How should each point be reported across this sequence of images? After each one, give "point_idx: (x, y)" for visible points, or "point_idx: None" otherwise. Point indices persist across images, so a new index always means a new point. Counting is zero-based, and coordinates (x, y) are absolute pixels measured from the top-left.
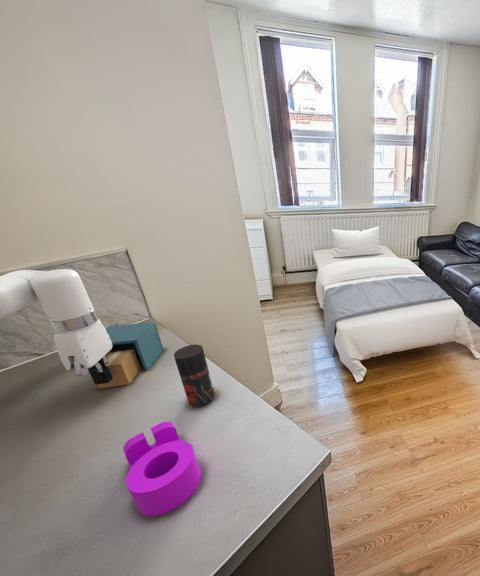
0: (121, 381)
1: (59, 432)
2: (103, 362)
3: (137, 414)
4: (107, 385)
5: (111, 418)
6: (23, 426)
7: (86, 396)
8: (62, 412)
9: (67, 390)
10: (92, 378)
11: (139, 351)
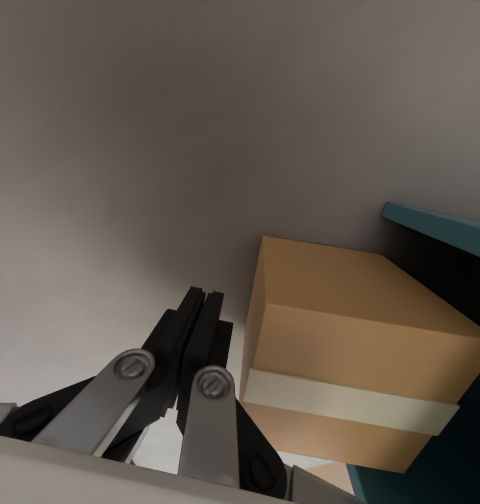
0: (247, 323)
1: (27, 192)
2: (178, 467)
3: (80, 368)
4: (256, 272)
5: (73, 317)
6: (75, 2)
7: (224, 203)
8: (138, 148)
9: (324, 83)
10: (177, 309)
11: (353, 485)
